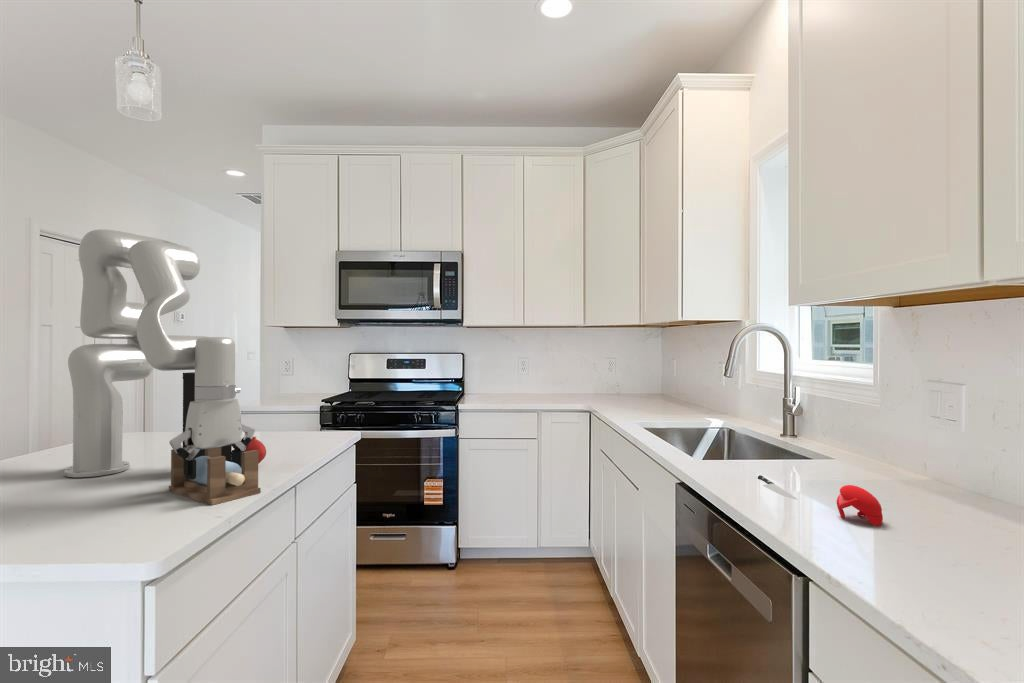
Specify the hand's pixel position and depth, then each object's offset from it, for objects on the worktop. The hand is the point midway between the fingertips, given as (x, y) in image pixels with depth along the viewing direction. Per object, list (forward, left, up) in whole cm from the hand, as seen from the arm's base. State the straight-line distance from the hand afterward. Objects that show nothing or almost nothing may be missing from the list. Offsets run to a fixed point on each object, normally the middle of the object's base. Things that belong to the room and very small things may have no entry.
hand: (214, 473), depth 110 cm
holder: (0, 0, -4) cm, 4 cm away
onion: (-14, +17, -4) cm, 22 cm away
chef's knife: (+101, +71, -5) cm, 124 cm away
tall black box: (-19, +8, -4) cm, 21 cm away
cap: (+117, +57, -4) cm, 130 cm away
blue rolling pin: (0, 0, -3) cm, 3 cm away
